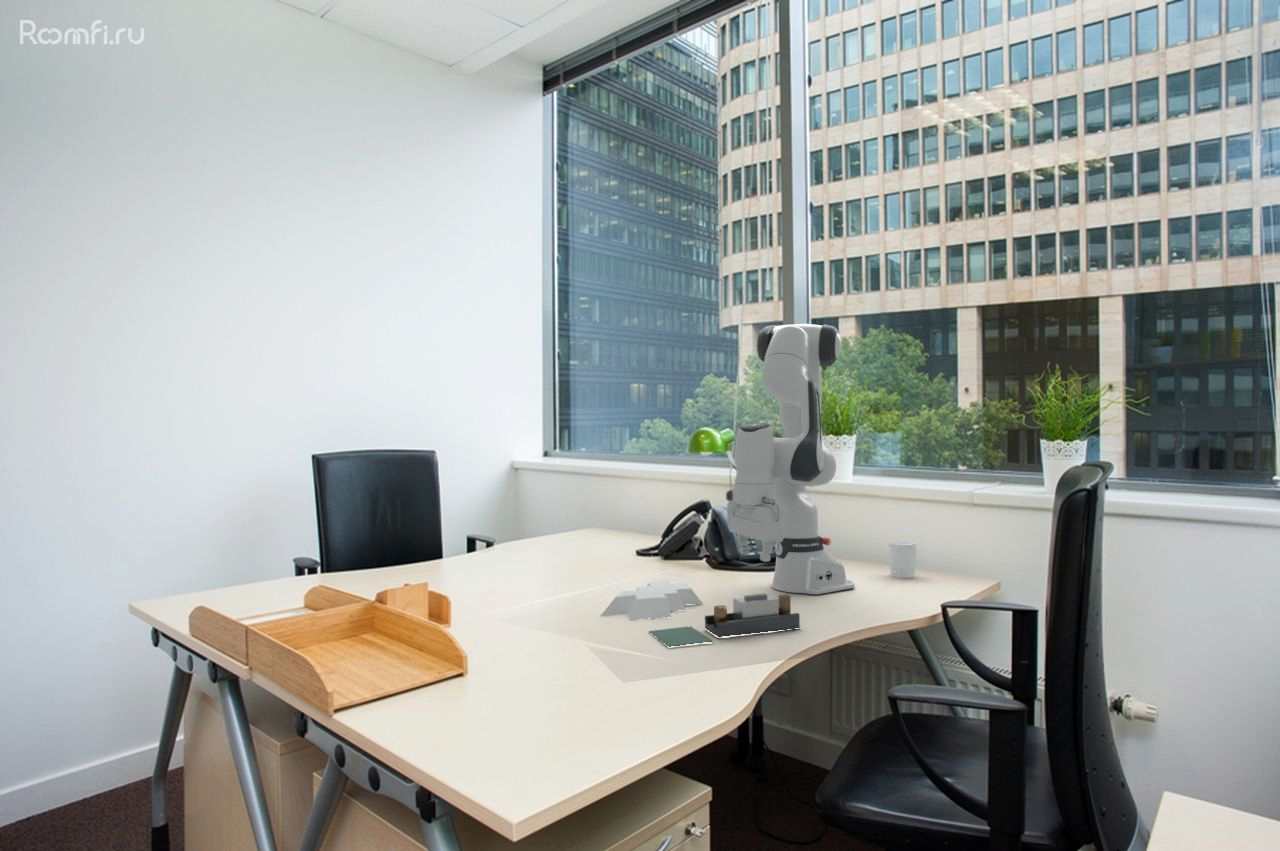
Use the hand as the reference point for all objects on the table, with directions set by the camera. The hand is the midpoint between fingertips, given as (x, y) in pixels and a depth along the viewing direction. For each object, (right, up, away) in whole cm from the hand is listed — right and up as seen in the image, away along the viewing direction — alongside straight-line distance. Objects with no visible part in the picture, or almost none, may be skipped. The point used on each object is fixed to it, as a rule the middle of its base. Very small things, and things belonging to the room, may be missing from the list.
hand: (754, 557), depth 173 cm
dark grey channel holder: (-1, -16, 0) cm, 16 cm away
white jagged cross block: (-21, -17, +21) cm, 34 cm away
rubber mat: (-17, -17, -6) cm, 24 cm away
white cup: (+51, -15, +54) cm, 76 cm away
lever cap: (0, -14, 0) cm, 14 cm away
